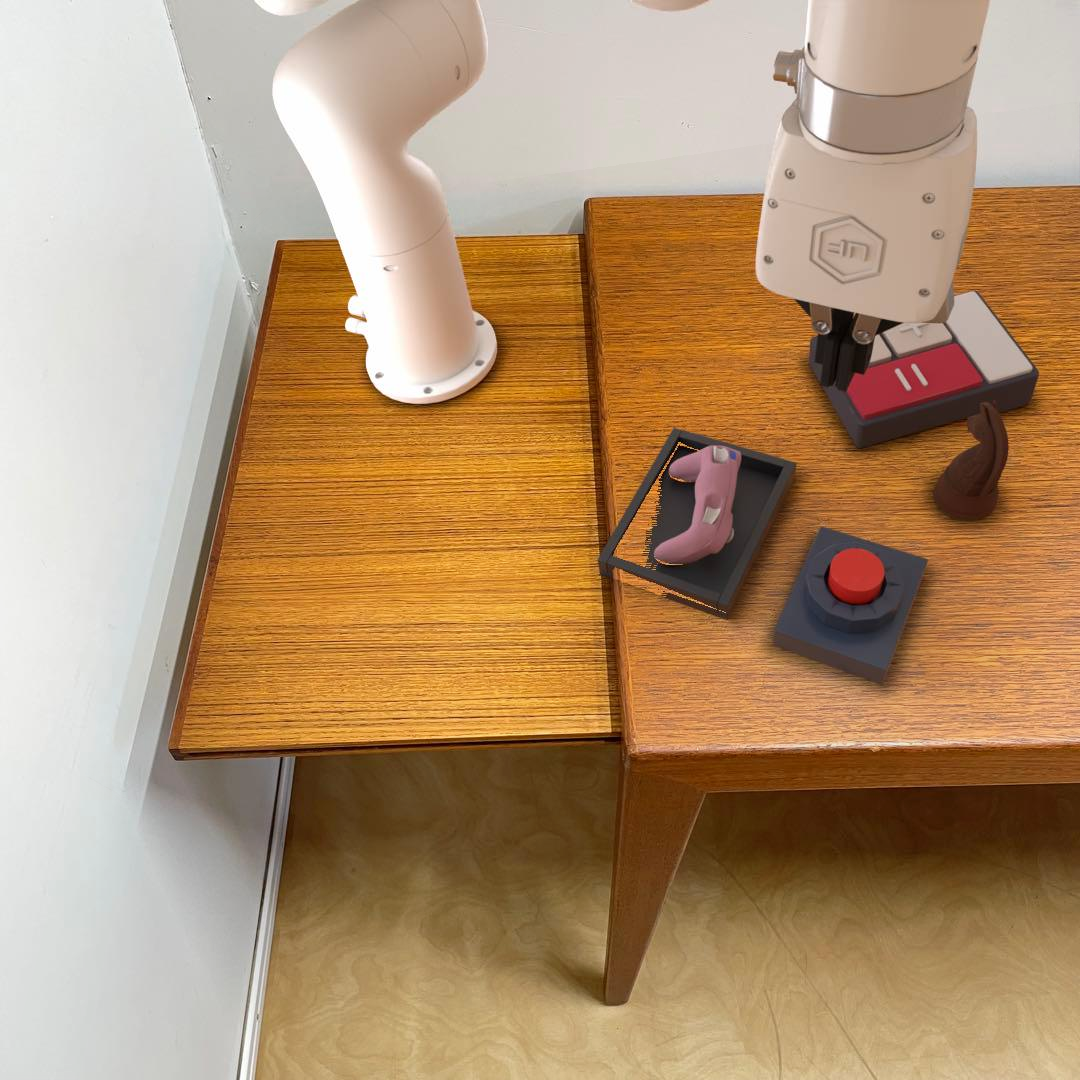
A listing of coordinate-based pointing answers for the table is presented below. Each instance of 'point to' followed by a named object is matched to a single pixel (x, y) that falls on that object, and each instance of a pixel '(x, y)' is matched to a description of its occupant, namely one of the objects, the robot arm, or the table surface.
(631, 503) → the tray
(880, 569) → the button
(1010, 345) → the calculator
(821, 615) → the button base
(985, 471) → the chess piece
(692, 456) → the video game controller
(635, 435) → the table surface
